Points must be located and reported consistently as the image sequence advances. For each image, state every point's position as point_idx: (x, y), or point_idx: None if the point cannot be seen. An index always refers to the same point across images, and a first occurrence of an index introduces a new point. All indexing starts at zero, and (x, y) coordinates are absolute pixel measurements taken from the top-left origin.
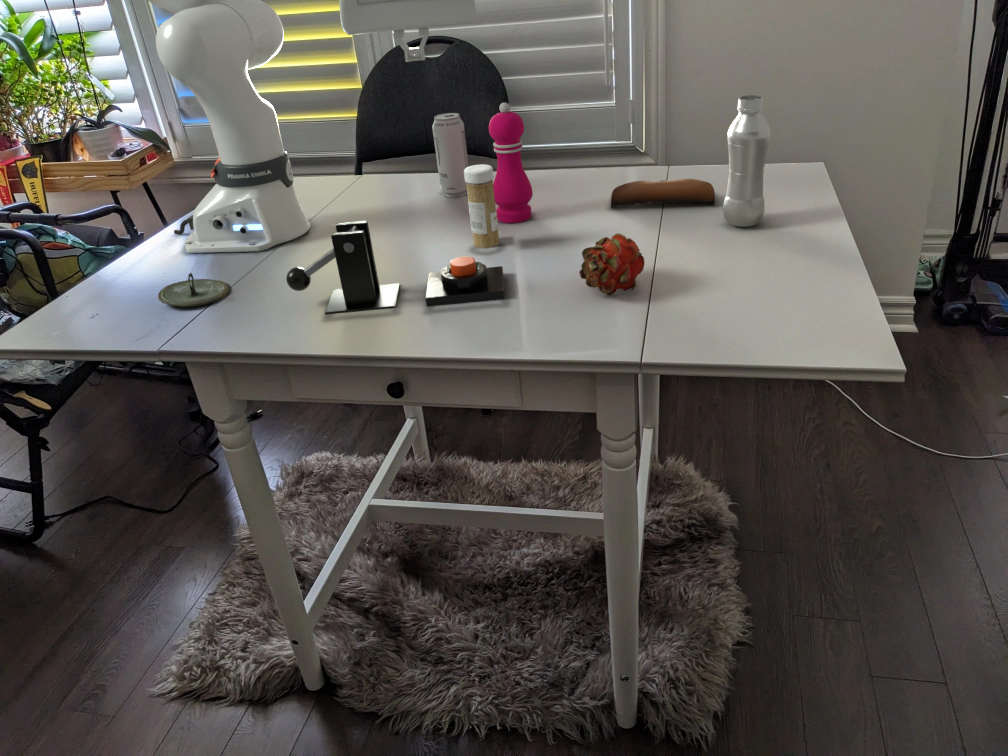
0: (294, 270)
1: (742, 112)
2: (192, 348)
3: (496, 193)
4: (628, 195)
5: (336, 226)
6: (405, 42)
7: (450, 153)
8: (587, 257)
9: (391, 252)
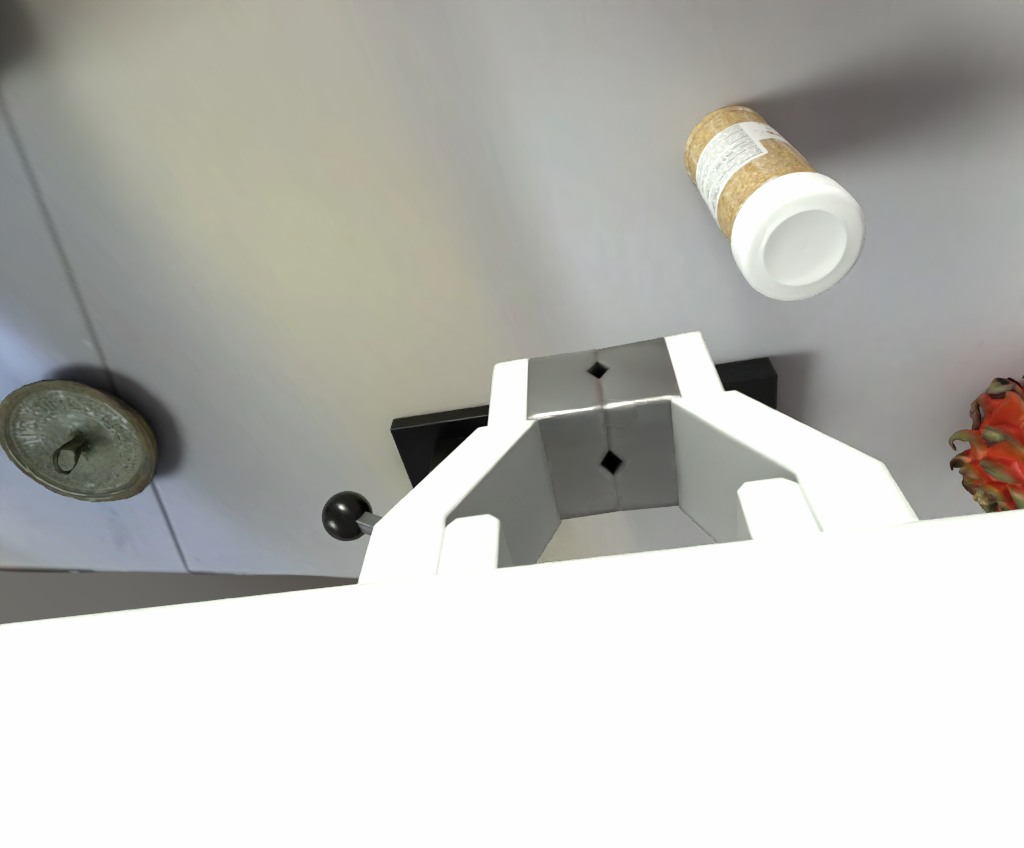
0: (343, 539)
1: None
2: (243, 568)
3: None
4: None
5: None
6: (499, 463)
7: None
8: (987, 491)
9: (421, 162)
